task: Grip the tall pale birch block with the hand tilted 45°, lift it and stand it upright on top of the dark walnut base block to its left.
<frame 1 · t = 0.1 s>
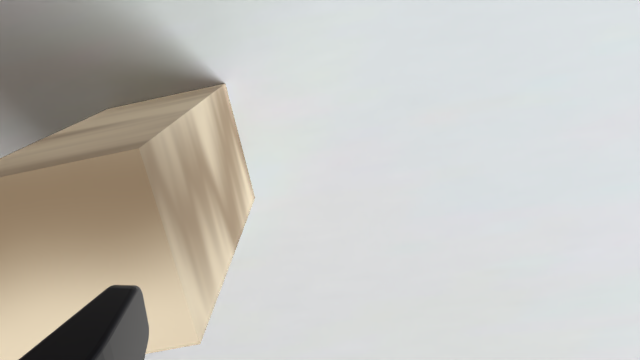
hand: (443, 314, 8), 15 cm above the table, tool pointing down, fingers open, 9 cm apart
birch block: (182, 154, 24), on the table
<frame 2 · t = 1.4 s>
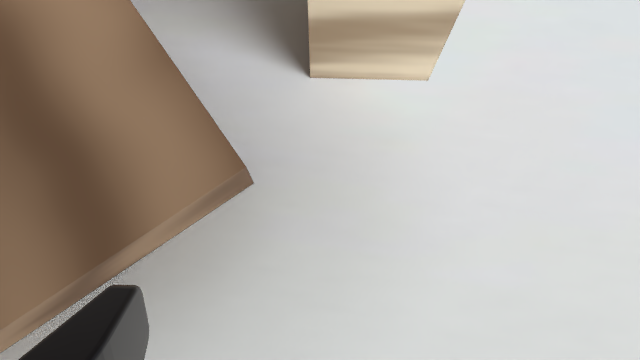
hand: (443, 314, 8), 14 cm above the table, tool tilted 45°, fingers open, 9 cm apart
walnut base block: (50, 148, 23), on the table
birch block: (369, 25, 24), on the table
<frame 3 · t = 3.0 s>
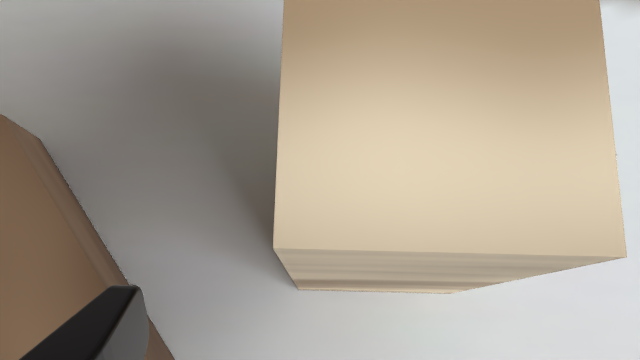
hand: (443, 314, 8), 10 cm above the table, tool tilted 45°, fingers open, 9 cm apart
birch block: (374, 217, 19), on the table
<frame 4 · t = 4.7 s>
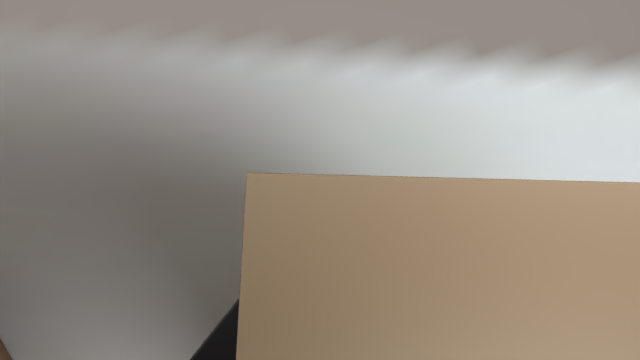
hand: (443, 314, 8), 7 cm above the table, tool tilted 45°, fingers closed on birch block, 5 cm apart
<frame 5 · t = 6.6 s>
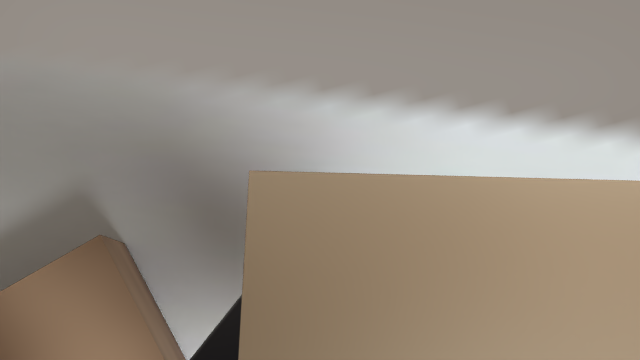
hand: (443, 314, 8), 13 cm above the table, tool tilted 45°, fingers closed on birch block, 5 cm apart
when the fingers open (11 cm above the table, at t = 8.8 s): birch block drops 1 cm, resting on walnut base block.
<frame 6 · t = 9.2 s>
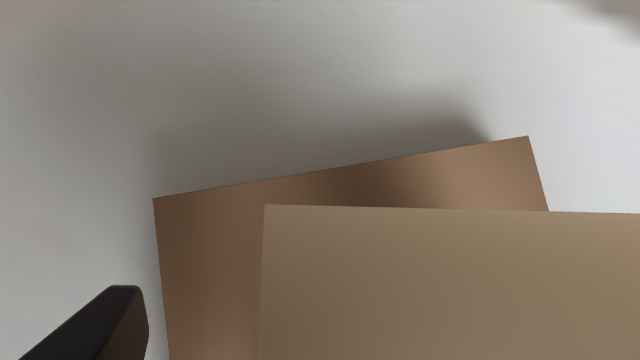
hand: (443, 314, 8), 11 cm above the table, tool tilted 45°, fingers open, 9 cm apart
walnut base block: (372, 357, 19), on the table
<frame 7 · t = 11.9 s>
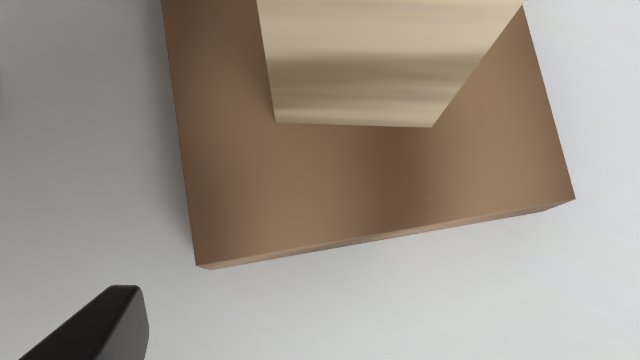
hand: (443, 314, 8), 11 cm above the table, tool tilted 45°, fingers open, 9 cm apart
walnut base block: (347, 81, 21), on the table
birch block: (354, 52, 19), point 2 cm above the table, touching walnut base block
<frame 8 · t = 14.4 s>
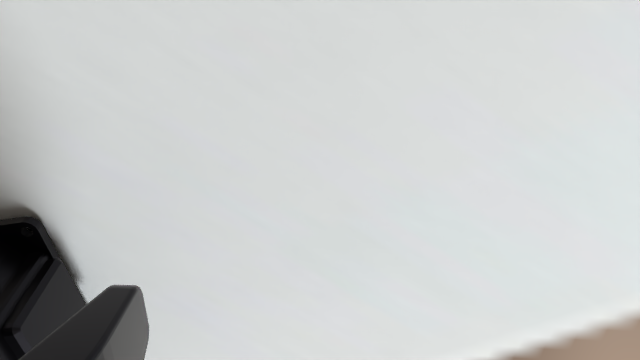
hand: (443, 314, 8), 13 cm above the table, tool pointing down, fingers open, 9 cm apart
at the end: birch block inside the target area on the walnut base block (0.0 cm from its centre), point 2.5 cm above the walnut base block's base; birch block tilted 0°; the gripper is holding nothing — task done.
